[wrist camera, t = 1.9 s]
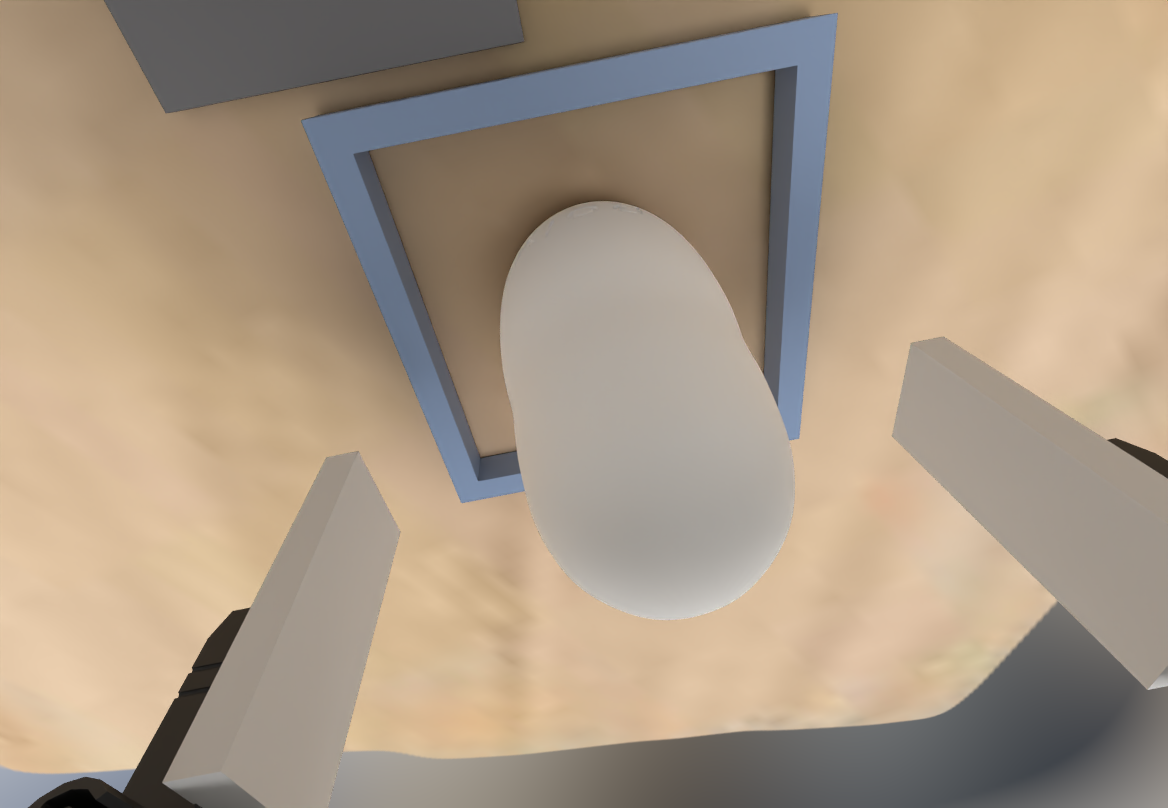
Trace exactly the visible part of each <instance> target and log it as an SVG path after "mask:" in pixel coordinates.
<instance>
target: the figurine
mask: <svg viewBox="0 0 1168 808" xmlns="http://www.w3.org/2000/svg"><path fill="white" fill-rule="evenodd" d="M500 345H501V358H502V367H503V374H504V380H505V385H506V389H507V393H508V397H509V401H510V404H511V408H512V412H513V418H514V430H515V441H516V449H517V456H518V462H519V467H520V472H521V476H522V481H523V485H524V490H525V494H526V498H527V501H528V505H529V508H530V512H531V515H532V517H533V520H534V523H535V525H536V527H537V530H538V532H539V534H540V536H541V538H542V540H543V542H544V543H545V545H546V547H547V548H548V550H549V551H550V553H551V555H552V556H553V558H554V559H555V560H556V562H557V563H558V565H559V566H560V567H561V569H562V570H563V571H564V572H565V573H566V575H567V576H568V577H569V578H570V579H571V580H572V581H573V582H574V583H575V584H576V585H578V586H579V587H580V588H581V589H583V590H584V591H585V592H586V593H588V594H590V595H591V596H593V597H594V598H596V599H597V600H599V601H601V602H603V603H605V604H607V605H609V606H611V607H613V608H615V609H618V610H620V611H623V612H626V613H629V614H632V615H635V616H639V617H643V618H649V619H655V620H677V619H685V618H691V617H696V616H699V615H703V614H707V613H709V612H712V611H715V610H717V609H720V608H722V607H724V606H726V605H728V604H730V603H731V602H733V601H735V600H736V599H738V598H740V597H741V596H742V595H743V594H744V593H746V592H747V591H748V590H749V589H750V588H752V587H753V585H754V584H755V583H756V582H757V581H758V580H759V579H760V578H761V577H762V575H763V574H764V573H765V572H766V570H767V569H768V568H769V567H770V565H771V564H772V562H773V561H774V559H775V557H776V556H777V554H778V552H779V551H780V549H781V547H782V544H783V542H784V540H785V538H786V536H787V533H788V530H789V527H790V524H791V520H792V515H793V509H794V498H795V475H794V463H793V456H792V450H791V446H790V442H789V438H788V435H787V432H786V429H785V425H784V423H783V420H782V417H781V415H780V412H779V410H778V407H777V405H776V402H775V400H774V397H773V395H772V393H771V390H770V388H769V386H768V384H767V381H766V379H765V377H764V375H763V373H762V371H761V369H760V368H759V366H758V364H757V362H756V361H755V359H754V357H753V355H752V354H751V352H750V350H749V349H748V347H747V345H746V343H745V341H744V339H743V337H742V334H741V331H740V328H739V325H738V323H737V320H736V317H735V315H734V312H733V310H732V308H731V306H730V303H729V301H728V299H727V297H726V295H725V293H724V292H723V290H722V288H721V286H720V284H719V283H718V281H717V279H716V278H715V276H714V275H713V273H712V272H711V270H710V269H709V267H708V266H707V264H706V263H705V261H704V260H703V259H702V257H701V256H700V255H699V254H698V252H697V251H696V250H695V249H694V247H693V246H692V245H691V244H690V243H689V242H688V241H687V240H686V239H685V238H684V237H683V236H682V235H681V234H680V233H679V232H678V231H677V230H675V229H674V228H673V227H672V226H670V225H669V224H668V223H666V222H665V221H664V220H662V219H660V218H659V217H657V216H656V215H654V214H652V213H650V212H648V211H646V210H644V209H641V208H639V207H636V206H632V205H629V204H625V203H620V202H612V201H594V202H587V203H582V204H578V205H575V206H572V207H569V208H566V209H564V210H562V211H560V212H558V213H556V214H555V215H553V216H551V217H550V218H548V219H547V220H546V221H544V222H543V223H542V224H541V225H540V226H539V227H538V228H536V229H535V230H534V231H533V233H532V234H531V235H530V236H529V237H528V238H527V240H526V241H525V242H524V244H523V245H522V247H521V248H520V250H519V251H518V253H517V255H516V257H515V259H514V261H513V263H512V265H511V268H510V271H509V273H508V276H507V280H506V283H505V287H504V292H503V297H502V304H501V314H500Z"/></svg>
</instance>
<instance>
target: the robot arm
mask: <svg viewBox="0 0 1168 808" xmlns="http://www.w3.org/2000/svg"><path fill="white" fill-rule="evenodd" d="M892 437H893V438H894V439H895V440H896V441H897V442H898V443H899V444H900V445H901V446H902V447H903V448H904V449H905V450H906V451H907V452H908V453H909V454H910V455H911V456H912V457H913V458H914V459H915V460H916V461H917V462H918V463H920V464H921V465H922V466H923V467H924V468H925V469H926V470H927V471H928V472H929V473H930V474H931V475H932V476H933V477H934V478H935V479H936V480H937V481H938V482H939V483H940V484H941V485H942V486H943V487H944V488H945V489H946V490H947V491H948V492H949V493H950V494H951V495H952V496H953V497H954V498H955V499H956V500H957V501H958V502H959V503H960V504H961V505H962V506H963V507H964V508H965V509H966V510H967V511H968V512H969V513H970V514H971V515H972V516H973V517H974V518H975V519H976V520H977V521H978V522H979V523H980V524H981V525H982V526H983V527H984V528H985V529H986V530H987V531H988V532H989V533H990V534H991V535H992V536H993V537H994V538H995V539H996V540H997V541H998V542H999V543H1000V544H1001V545H1002V546H1003V547H1004V548H1005V549H1006V550H1007V551H1008V552H1009V553H1010V554H1011V555H1012V556H1013V557H1014V558H1015V559H1016V560H1017V561H1018V562H1019V563H1020V564H1021V565H1022V566H1023V567H1024V568H1025V569H1026V570H1027V571H1028V572H1029V573H1030V574H1031V575H1032V576H1033V577H1034V578H1035V579H1036V580H1038V581H1039V582H1040V583H1041V584H1042V585H1043V586H1044V587H1045V588H1046V589H1047V590H1048V591H1049V592H1050V593H1051V594H1052V595H1053V596H1054V597H1055V598H1056V599H1057V600H1058V601H1059V602H1060V603H1061V604H1062V605H1063V606H1064V607H1065V608H1066V609H1067V610H1068V611H1069V612H1070V613H1071V614H1072V615H1073V616H1074V617H1075V618H1076V619H1077V620H1078V621H1079V622H1080V623H1081V624H1082V625H1083V626H1084V627H1085V628H1086V629H1087V630H1088V631H1089V632H1090V633H1091V634H1092V635H1093V636H1094V637H1095V638H1096V639H1097V640H1098V641H1099V642H1100V643H1101V644H1102V645H1103V646H1104V647H1105V648H1106V649H1107V650H1108V651H1109V652H1110V653H1111V654H1112V655H1113V656H1114V657H1115V658H1116V659H1117V660H1118V661H1119V662H1120V663H1121V664H1122V665H1123V666H1124V667H1125V668H1127V670H1128V671H1129V672H1130V673H1131V674H1132V675H1133V676H1134V677H1136V678H1137V680H1138V681H1139V682H1140V683H1142V685H1143V686H1144V687H1145V688H1146V689H1154V688H1159V687H1165V686H1168V461H1167V460H1165V459H1164V458H1162V457H1161V456H1159V455H1157V454H1156V453H1153V452H1150V451H1148V450H1145V449H1143V448H1140V447H1137V446H1135V445H1132V444H1130V443H1127V442H1124V441H1122V440H1119V439H1117V438H1115V439H1109V440H1106V439H1104V438H1103V437H1101V436H1100V435H1098V434H1096V433H1095V432H1093V431H1092V430H1090V429H1089V428H1087V427H1085V426H1084V425H1082V424H1081V423H1079V422H1078V421H1076V420H1074V419H1073V418H1071V417H1070V416H1068V415H1066V414H1065V413H1063V412H1062V411H1060V410H1059V409H1057V408H1055V407H1054V406H1052V405H1051V404H1049V403H1048V402H1046V401H1044V400H1043V399H1041V398H1040V397H1038V396H1036V395H1035V394H1033V393H1032V392H1030V391H1029V390H1027V389H1025V388H1024V387H1022V386H1021V385H1019V384H1018V383H1016V382H1014V381H1013V380H1011V379H1010V378H1008V377H1007V376H1005V375H1003V374H1002V373H1000V372H999V371H997V370H995V369H994V368H992V367H991V366H989V365H988V364H986V363H984V362H983V361H981V360H980V359H978V358H977V357H975V356H973V355H972V354H970V353H969V352H967V351H965V350H964V349H962V348H961V347H959V346H958V345H956V344H954V343H953V342H951V341H950V340H948V339H947V338H945V337H939V338H934V339H928V340H923V341H918V342H913V343H911V345H910V350H909V355H908V360H907V365H906V370H905V375H904V380H903V385H902V390H901V394H900V399H899V404H898V409H897V414H896V419H895V424H894V429H893V434H892ZM399 536H400V530H399V528H398V526H397V524H396V522H395V520H394V518H393V517H392V515H391V513H390V511H389V509H388V507H387V505H386V503H385V501H384V499H383V497H382V495H381V494H380V492H379V490H378V488H377V486H376V484H375V482H374V480H373V478H372V476H371V474H370V472H369V471H368V469H367V467H366V465H365V463H364V461H363V459H362V457H361V455H360V453H359V451H356V452H351V453H346V454H341V455H336V456H331V457H326V459H325V461H324V463H323V465H322V467H321V469H320V471H319V473H318V475H317V477H316V479H315V481H314V483H313V485H312V487H311V489H310V491H309V493H308V495H307V497H306V499H305V501H304V503H303V505H302V507H301V509H300V511H299V513H298V515H297V517H296V519H295V520H294V522H293V524H292V526H291V528H290V530H289V532H288V534H287V536H286V538H285V540H284V542H283V544H282V546H281V548H280V550H279V552H278V554H277V556H276V558H275V560H274V562H273V564H272V566H271V568H270V570H269V572H268V574H267V576H266V578H265V580H264V582H263V584H262V586H261V588H260V590H259V592H258V594H257V596H256V598H255V600H254V602H253V604H252V606H251V608H246V609H241V610H236V611H232V612H231V614H230V615H229V616H228V617H227V618H226V619H225V620H224V621H223V622H222V623H221V625H220V626H219V627H218V628H217V629H216V630H215V631H214V632H213V633H212V635H211V636H210V637H209V638H208V639H207V641H206V643H205V645H204V647H203V648H202V650H201V652H200V654H199V656H198V658H197V659H196V661H195V663H194V665H193V667H192V669H193V671H192V673H189V674H188V676H187V677H186V679H185V681H184V683H183V685H182V686H181V688H180V690H179V692H178V693H179V697H178V698H176V699H174V701H173V703H172V705H171V706H170V708H169V710H168V712H167V714H166V715H165V717H164V719H163V721H162V723H161V725H160V726H159V728H158V730H157V732H156V734H155V735H154V737H153V739H152V741H151V743H150V744H149V746H148V748H147V750H146V752H145V753H144V755H143V757H142V759H141V761H140V763H139V764H138V766H137V768H136V770H135V772H134V773H133V775H132V777H131V779H130V781H129V783H128V784H127V786H126V788H125V790H124V792H123V793H120V792H119V791H118V790H116V789H114V788H113V787H111V786H109V785H108V784H106V783H105V782H103V781H102V780H100V779H94V778H89V777H83V778H80V779H77V780H73V781H70V782H67V783H64V784H62V785H61V786H59V787H57V788H55V789H54V790H52V791H50V792H49V793H47V794H45V795H44V796H42V797H40V798H39V799H38V800H37V801H35V802H34V803H33V804H32V805H31V806H30V807H28V808H328V805H329V801H330V798H331V794H332V790H333V786H334V782H335V779H336V775H337V771H338V767H339V764H340V760H341V756H342V752H343V748H344V745H345V741H346V737H347V733H348V729H349V726H350V722H351V718H352V714H353V710H354V707H355V703H356V699H357V695H358V691H359V688H360V684H361V680H362V676H363V672H364V669H365V665H366V661H367V657H368V653H369V650H370V646H371V642H372V638H373V634H374V631H375V627H376V623H377V619H378V615H379V612H380V608H381V604H382V600H383V596H384V593H385V589H386V585H387V581H388V577H389V574H390V570H391V566H392V562H393V558H394V555H395V551H396V547H397V543H398V539H399Z"/></svg>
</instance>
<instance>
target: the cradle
mask: <svg viewBox="0 0 1168 808" xmlns="http://www.w3.org/2000/svg"><path fill="white" fill-rule="evenodd" d="M837 15H838V13H834V14H827V15H820V16H812V17H807V18H802V19H797V20H792V21H787V22H782V23H777V24H772V25H767V26H762V27H757V28H752V29H747V30H742V31H737V32H732V33H727V34H722V35H717V36H712V37H707V38H702V39H697V40H692V41H687V42H682V43H677V44H672V45H667V46H662V47H657V48H652V49H647V50H642V51H637V52H632V53H627V54H622V55H617V56H612V57H607V58H602V59H597V60H592V61H587V62H582V63H577V64H572V65H567V66H562V67H557V68H552V69H547V70H542V71H537V72H532V73H527V74H522V75H517V76H512V77H508V78H503V79H498V80H493V81H488V82H483V83H478V84H473V85H468V86H463V87H458V88H453V89H448V90H443V91H438V92H433V93H428V94H423V95H418V96H413V97H408V98H403V99H398V100H393V101H388V102H383V103H378V104H373V105H368V106H363V107H358V108H353V109H348V110H343V111H338V112H333V113H328V114H323V115H318V116H315V117H311V118H308V119H305V120H301V122H302V124H303V127H304V129H305V132H306V134H307V136H308V139H309V141H310V144H311V146H312V148H313V151H314V153H315V155H316V158H317V160H318V163H319V165H320V167H321V170H322V172H323V174H324V177H325V179H326V182H327V184H328V186H329V189H330V191H331V194H332V196H333V198H334V201H335V203H336V205H337V208H338V210H339V213H340V215H341V217H342V220H343V222H344V225H345V227H346V229H347V232H348V234H349V236H350V239H351V241H352V244H353V246H354V248H355V251H356V253H357V255H358V258H359V260H360V263H361V265H362V267H363V270H364V272H365V275H366V277H367V279H368V282H369V284H370V286H371V289H372V291H373V294H374V296H375V298H376V301H377V303H378V306H379V308H380V310H381V313H382V315H383V317H384V320H385V322H386V325H387V327H388V329H389V332H390V334H391V336H392V339H393V341H394V344H395V346H396V348H397V351H398V353H399V356H400V358H401V360H402V363H403V365H404V367H405V370H406V372H407V375H408V377H409V379H410V382H411V384H412V387H413V389H414V391H415V394H416V396H417V398H418V401H419V403H420V406H421V408H422V410H423V413H424V415H425V417H426V420H427V422H428V425H429V427H430V429H431V432H432V434H433V437H434V439H435V441H436V444H437V446H438V448H439V451H440V453H441V456H442V458H443V460H444V463H445V465H446V468H447V470H448V472H449V475H450V477H451V479H452V482H453V484H454V487H455V489H456V491H457V494H458V496H459V498H460V501H461V503H465V502H470V501H475V500H481V499H486V498H491V497H496V496H501V495H507V494H512V493H517V492H522V491H525V490H524V485H523V481H522V476H521V472H520V467H519V462H518V456H517V451H516V452H511V453H505V454H500V455H495V456H490V457H485V458H480V456H479V453H478V450H477V447H476V445H475V442H474V439H473V436H472V434H471V431H470V428H469V425H468V423H467V420H466V417H465V415H464V412H463V409H462V406H461V404H460V401H459V398H458V395H457V393H456V390H455V387H454V384H453V382H452V379H451V376H450V373H449V371H448V368H447V365H446V363H445V360H444V357H443V354H442V352H441V349H440V346H439V343H438V341H437V338H436V335H435V332H434V330H433V327H432V324H431V321H430V319H429V316H428V313H427V311H426V308H425V305H424V302H423V300H422V297H421V294H420V291H419V289H418V286H417V283H416V280H415V278H414V275H413V272H412V269H411V267H410V264H409V261H408V258H407V256H406V253H405V250H404V248H403V245H402V242H401V239H400V237H399V234H398V231H397V228H396V226H395V223H394V220H393V217H392V215H391V212H390V209H389V206H388V204H387V201H386V198H385V196H384V193H383V190H382V187H381V185H380V182H379V179H378V176H377V174H376V171H375V168H374V165H373V163H372V160H371V157H370V154H369V152H368V151H370V150H375V149H380V148H385V147H390V146H395V145H400V144H405V143H410V142H415V141H420V140H425V139H430V138H435V137H440V136H445V135H450V134H455V133H460V132H465V131H470V130H475V129H480V128H485V127H490V126H495V125H500V124H505V123H510V122H515V121H520V120H525V119H530V118H535V117H540V116H545V115H550V114H555V113H560V112H565V111H570V110H575V109H580V108H585V107H590V106H595V105H600V104H605V103H610V102H615V101H620V100H625V99H630V98H635V97H640V96H646V95H651V94H656V93H661V92H666V91H671V90H676V89H681V88H686V87H691V86H696V85H701V84H706V83H711V82H716V81H721V80H726V79H731V78H736V77H741V76H746V75H751V74H756V73H761V72H766V71H771V70H775V96H774V123H773V149H772V175H771V202H770V228H769V255H768V281H767V308H766V334H765V360H764V377H765V379H766V381H767V384H768V386H769V388H770V390H771V393H772V395H773V397H774V400H775V402H776V405H777V407H778V410H779V412H780V415H781V417H782V420H783V423H784V425H785V429H786V432H787V435H788V438H789V440H794V439H799V435H800V424H801V413H802V402H803V391H804V380H805V369H806V358H807V347H808V336H809V325H810V314H811V303H812V292H813V281H814V269H815V258H816V247H817V236H818V225H819V214H820V203H821V192H822V181H823V170H824V159H825V148H826V137H827V126H828V115H829V104H830V93H831V82H832V71H833V60H834V48H835V37H836V26H837Z"/></svg>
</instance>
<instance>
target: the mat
mask: <svg viewBox="0 0 1168 808" xmlns="http://www.w3.org/2000/svg"><path fill="white" fill-rule="evenodd" d="M104 1H105V3H106V5H107V7H108V8H109V10H110V12H111V14H112V16H113V18H114V19H115V21H116V23H117V25H118V27H119V29H120V30H121V32H122V34H123V36H124V38H125V40H126V41H127V43H128V45H129V47H130V49H131V50H132V52H133V54H134V56H135V58H136V60H137V61H138V63H139V65H140V67H141V69H142V71H143V72H144V74H145V76H146V78H147V80H148V82H149V83H150V85H151V87H152V89H153V91H154V93H155V94H156V96H157V98H158V100H159V102H160V104H161V105H162V107H163V109H164V111H165V113H171V112H177V111H182V110H187V109H192V108H197V107H202V106H207V105H212V104H217V103H222V102H227V101H232V100H237V99H242V98H247V97H252V96H257V95H262V94H267V93H272V92H277V91H282V90H287V89H292V88H297V87H302V86H307V85H312V84H317V83H322V82H327V81H332V80H337V79H342V78H347V77H352V76H357V75H361V74H366V73H371V72H376V71H381V70H386V69H391V68H396V67H401V66H406V65H411V64H416V63H421V62H426V61H431V60H436V59H441V58H446V57H451V56H456V55H461V54H466V53H471V52H476V51H481V50H486V49H491V48H496V47H501V46H506V45H511V44H516V43H521V42H524V37H523V32H522V27H521V22H520V16H519V11H518V6H517V0H104Z"/></svg>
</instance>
